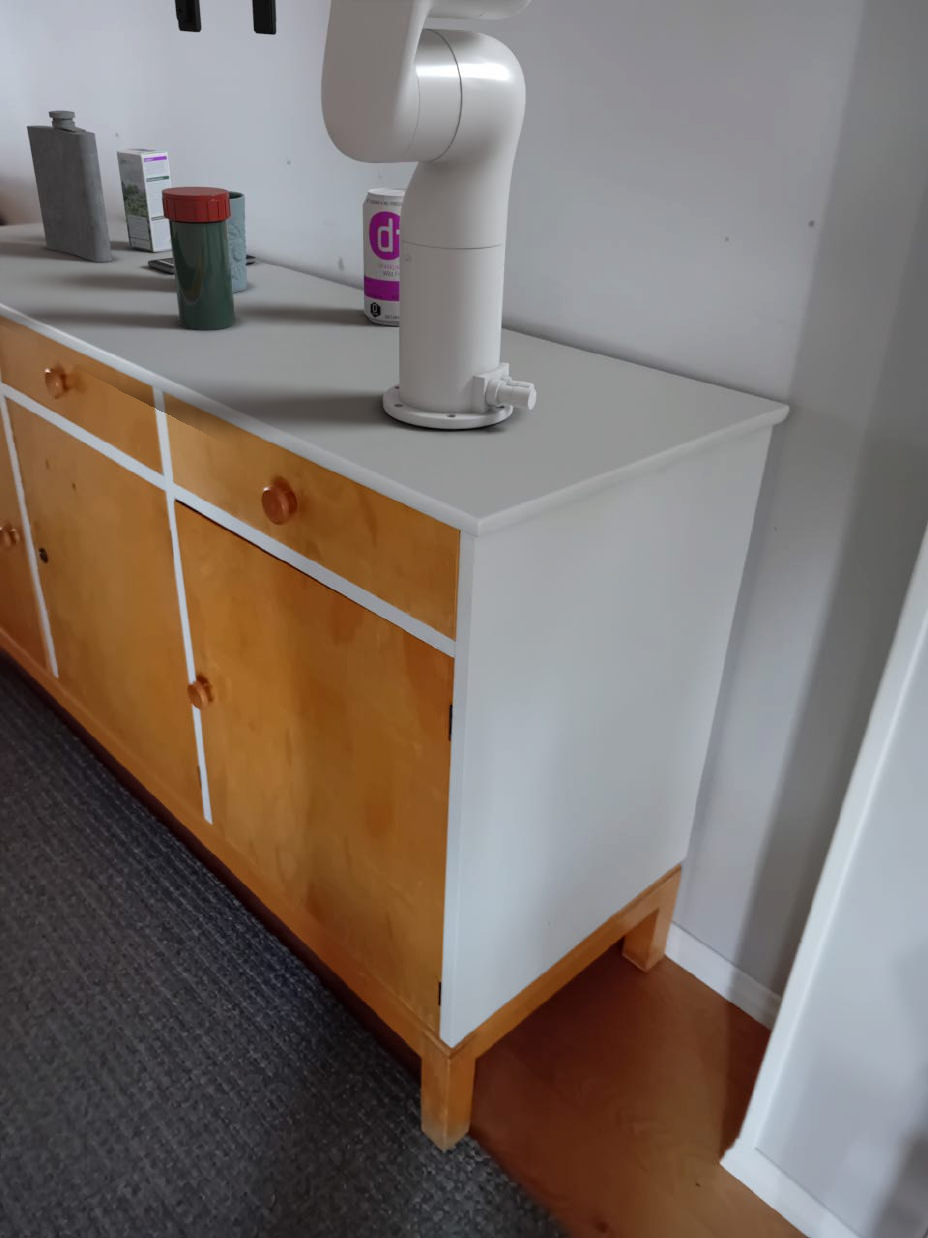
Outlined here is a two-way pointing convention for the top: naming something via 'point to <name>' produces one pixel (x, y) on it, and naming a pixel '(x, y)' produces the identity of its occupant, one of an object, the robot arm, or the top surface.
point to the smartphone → (169, 266)
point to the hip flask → (70, 188)
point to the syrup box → (145, 197)
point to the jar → (202, 274)
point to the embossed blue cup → (237, 241)
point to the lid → (196, 204)
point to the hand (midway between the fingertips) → (228, 32)
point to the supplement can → (382, 254)
